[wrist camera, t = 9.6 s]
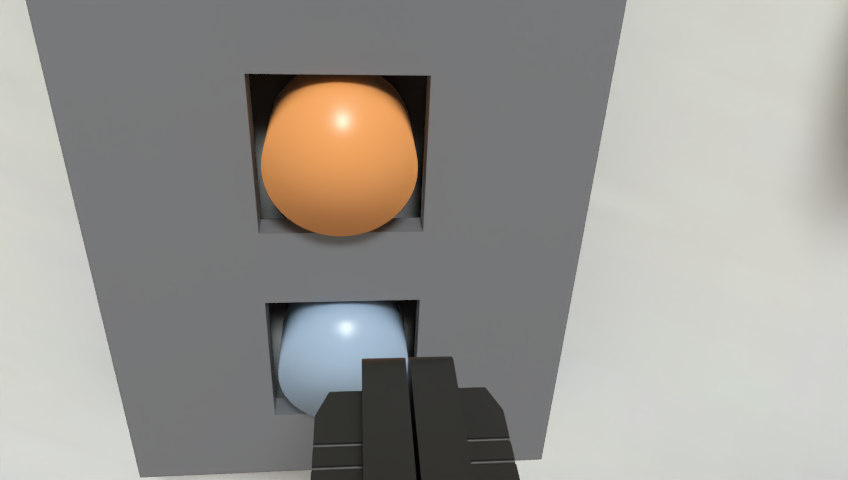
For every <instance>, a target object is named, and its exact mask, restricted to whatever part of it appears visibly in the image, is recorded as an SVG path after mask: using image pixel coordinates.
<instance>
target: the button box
mask: <svg viewBox="0 0 848 480" xmlns="http://www.w3.org/2000/svg"><path fill="white" fill-rule="evenodd" d="M626 1H627V0H26V3H27V8H28V12H29V16H30V20H31V24H32V28H33V33H34V37H35V41H36V45H37V49H38V53H39V58H40V62H41V66H42V70H43V74H44V78H45V83H46V87H47V91H48V95H49V99H50V103H51V108H52V112H53V116H54V120H55V124H56V128H57V133H58V137H59V141H60V145H61V149H62V153H63V158H64V162H65V166H66V170H67V174H68V178H69V183H70V187H71V191H72V195H73V199H74V203H75V208H76V212H77V216H78V220H79V224H80V228H81V233H82V237H83V241H84V245H85V249H86V253H87V258H88V262H89V266H90V270H91V274H92V278H93V283H94V287H95V291H96V295H97V299H98V303H99V308H100V312H101V316H102V320H103V324H104V328H105V332H106V337H107V341H108V345H109V349H110V353H111V357H112V362H113V366H114V370H115V374H116V378H117V382H118V387H119V391H120V395H121V399H122V403H123V407H124V412H125V416H126V420H127V424H128V428H129V432H130V437H131V441H132V445H133V449H134V453H135V457H136V462H137V466H138V470H139V474H140V477H160V476H182V475H205V474H227V473H249V472H271V471H293V470H312V453H313V437H314V420H315V417H314V416H311V415H309V414H307V413H305V412H303V411H301V410H300V409H298V408H297V407H296V406H294V405H293V404H292V403H291V402H290V401H289V400H288V399H287V397H277V395H276V383H275V372H274V360H273V349H272V337H271V326H270V314H269V303H290V302H335V301H381V300H417V307H416V328H415V349H414V357H440V356H452V357H453V360H454V365H455V371H456V377H457V383H458V388H471V387H486V389H487V390H488V391H489V393H490V394H491V395H492V396H493V398H494V399H495V400H496V401H497V403H498V404H499V405H500V406H501V408H502V409H503V411H504V415H505V419H506V423H507V428H508V432H509V436H510V442H511V445H512V449H513V453H514V457H515V460H537V459H541V458H542V453H543V447H544V442H545V437H546V431H547V426H548V420H549V415H550V410H551V404H552V399H553V394H554V388H555V383H556V377H557V372H558V367H559V361H560V356H561V350H562V345H563V340H564V334H565V329H566V324H567V318H568V313H569V307H570V302H571V297H572V291H573V286H574V281H575V275H576V270H577V264H578V259H579V254H580V248H581V243H582V237H583V232H584V227H585V221H586V216H587V211H588V205H589V200H590V194H591V189H592V184H593V178H594V173H595V168H596V162H597V157H598V151H599V146H600V141H601V135H602V130H603V124H604V119H605V114H606V108H607V103H608V98H609V92H610V87H611V81H612V76H613V71H614V65H615V60H616V55H617V49H618V44H619V38H620V33H621V28H622V22H623V17H624V11H625V6H626ZM249 74H322V75H426V76H427V94H426V116H425V137H424V158H423V179H422V201H421V218H392V219H391V220H390V221H388V222H387V223H386V224H384V225H382V226H380V227H379V228H376V229H374V230H372V231H369V232H366V233H362V234H358V235H352V236H329V235H323V234H319V233H315V232H312V231H309V230H307V229H304V228H302V227H301V226H299V225H297V224H295V223H294V222H292V221H291V220H289V219H261V210H260V199H259V187H258V176H257V164H256V152H255V141H254V129H253V118H252V106H251V95H250V83H249Z"/></svg>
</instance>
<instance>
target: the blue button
mask: <svg viewBox="0 0 848 480" xmlns="http://www.w3.org/2000/svg"><path fill="white" fill-rule="evenodd" d="M367 358H405V359H406V368H408V354H407V345H406V336H405V327H404V318H403V314H402V310H401V308H400V305H399V304H398V302H397V300H381V301H335V302H290V304H289V306H288V308H287V310H286V313H285V316H284V323H283V332H282V341H281V350H280V360H279V369H278V378H279V383H280V386H281V389H282V391H283V393H284V395H285V396H286V397H287V399H288V400H289V401H290V402H291V403H292V404H293V405H294V406H296V407H297V408H298V409H300V410H301V411H303V412H305V413H307V414H309V415H311V416H314V417H315V415H316V413H317V411H318V410H319V408H320V406H321V405H322V403H323V402H324V400H325V398H326V397H327V395H328V393H329V392H339V391H362V359H367Z"/></svg>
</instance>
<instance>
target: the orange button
mask: <svg viewBox="0 0 848 480" xmlns="http://www.w3.org/2000/svg"><path fill="white" fill-rule="evenodd" d="M261 173H262V179H263V183H264V186H265V189H266V191H267V193H268V195H269V197H270V199H271V200H272V202H273V203H274V205H275V206H276V207H277V208H278V209H279V211H280V212H281V213H282V214H283V215H285V216H286V217H287V218H288V219H289V220H291V221H292V222H294V223H295V224H297V225H299V226H301V227H302V228H304V229H307V230H309V231H312V232H315V233H319V234H323V235H329V236H352V235H358V234H362V233H366V232H369V231H372V230H374V229H376V228H379V227H380V226H382V225H384V224H386V223H387V222H388V221H390V220H391V219H392V218H394V217H395V216H396V215H397V214H398V213H399V212H400V211H401V210H402V209H403V207H404V206H405V205H406V204H407V202H408V200H409V199H410V197H411V195H412V192H413V190H414V188H415V184H416V180H417V173H418V160H417V154H416V149H415V144H414V139H413V134H412V129H411V124H410V119H409V114H408V111H407V108H406V106H405V104H404V102H403V100H402V98H401V96H400V95H399V93H398V92H397V91H396V90H395V89H394V87H393V86H392V85H391V84H390V83H389V82H387V81H386V80H385V79H384V78H382V77H381V76H379V75H322V74H300V75H298V76H297V77H295V78H294V79H293V80H291V81H290V82H289V83H288V84H287V85H286V86H285V87H284V88H283V90H282V91H281V92H280V94H279V95H278V97H277V98H276V101H275V103H274V105H273V107H272V111H271V114H270V119H269V123H268V128H267V133H266V137H265V142H264V147H263V151H262V158H261Z"/></svg>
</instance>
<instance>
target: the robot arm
mask: <svg viewBox="0 0 848 480" xmlns="http://www.w3.org/2000/svg"><path fill="white" fill-rule="evenodd" d="M311 480H520V478H519V474H518V470H517V466H516V464H515V457H514V453H513V449H512V445H511V442H510V436H509V432H508V428H507V423H506V419H505V415H504V411H503V409H502V408H501V406H500V405H499V404H498V403H497V401H496V400H495V399H494V398H493V396H492V395H491V394H490V393H489V391H488V390H487V389H486V387H471V388H458V383H457V377H456V371H455V365H454V360H453V357H452V356H440V357H409V358H408V368H406V359H405V358H367V359H362V391H339V392H329V393H328V395H327V397H326V398H325V400H324V402H323V403H322V405H321V406H320V408H319V410H318V411H317V413H316V415H315V420H314V437H313V453H312V472H311Z"/></svg>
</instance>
